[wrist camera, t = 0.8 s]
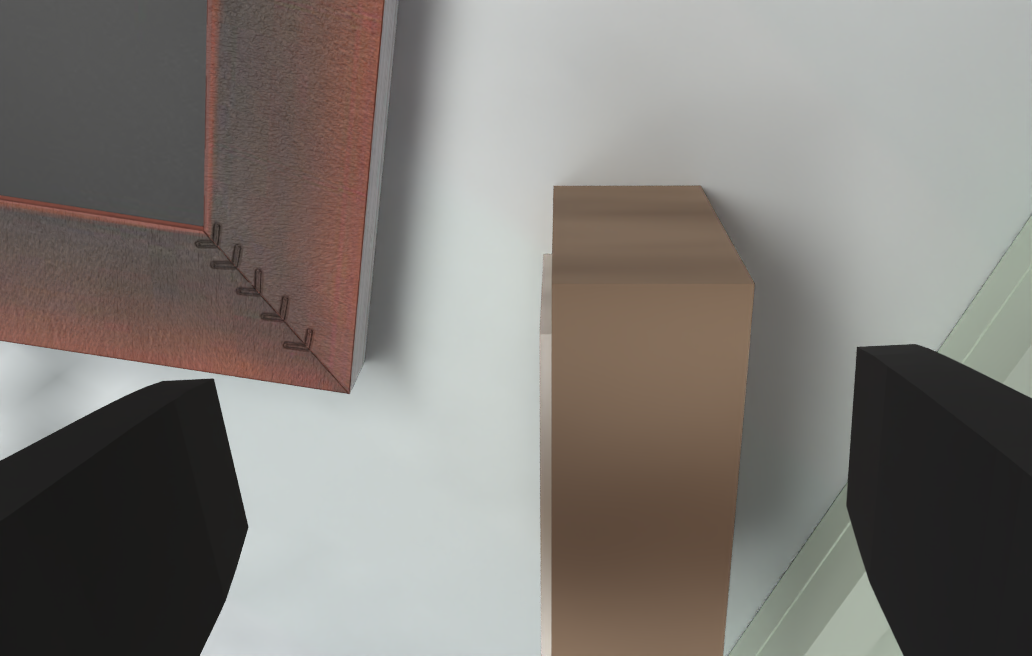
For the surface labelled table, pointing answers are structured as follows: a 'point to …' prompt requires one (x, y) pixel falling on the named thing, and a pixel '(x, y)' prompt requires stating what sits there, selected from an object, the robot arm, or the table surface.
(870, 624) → the green slotted rack
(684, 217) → the frame
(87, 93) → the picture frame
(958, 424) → the robot arm
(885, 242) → the table surface
